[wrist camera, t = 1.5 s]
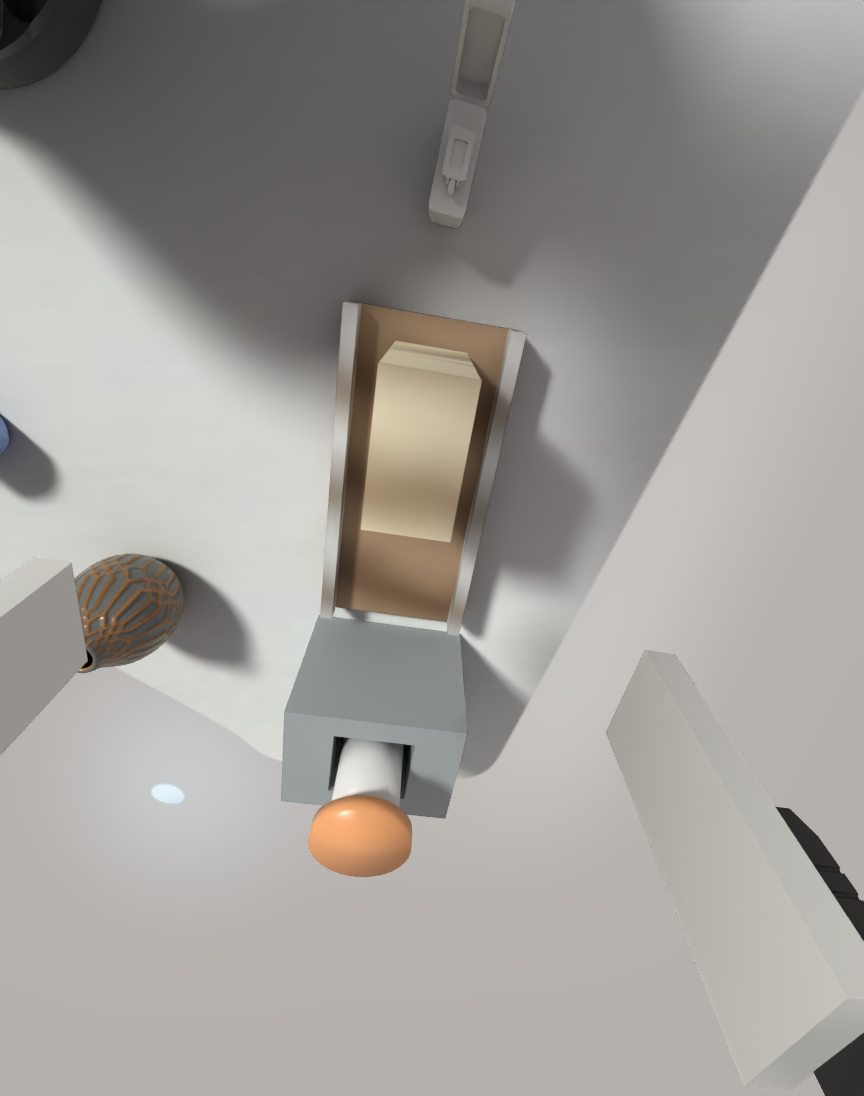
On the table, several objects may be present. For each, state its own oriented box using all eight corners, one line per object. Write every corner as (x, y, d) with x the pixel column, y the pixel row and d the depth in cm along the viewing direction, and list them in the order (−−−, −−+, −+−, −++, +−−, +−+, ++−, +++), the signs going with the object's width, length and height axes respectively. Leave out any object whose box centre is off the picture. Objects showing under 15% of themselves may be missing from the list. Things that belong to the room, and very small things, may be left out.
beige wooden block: (395, 340, 28) (378, 363, 19) (466, 352, 28) (481, 381, 19) (381, 461, 31) (360, 529, 22) (445, 471, 31) (450, 542, 23)
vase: (210, 566, 37) (150, 640, 29) (181, 633, 40) (119, 717, 32) (115, 523, 35) (24, 589, 28) (92, 595, 38) (3, 674, 30)
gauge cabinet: (318, 615, 39) (284, 711, 30) (467, 634, 40) (477, 734, 31) (313, 693, 42) (281, 801, 33) (449, 710, 43) (453, 819, 34)
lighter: (459, 229, 27) (468, 207, 20) (428, 220, 27) (426, 195, 20) (497, 60, 24) (524, -37, 17) (462, 49, 24) (475, -54, 17)
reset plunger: (337, 696, 33) (310, 807, 26) (421, 706, 34) (418, 818, 26) (331, 755, 36) (305, 871, 29) (410, 764, 36) (404, 881, 29)
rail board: (349, 300, 29) (340, 301, 26) (519, 330, 30) (528, 334, 27) (326, 594, 38) (318, 617, 35) (458, 611, 39) (460, 635, 36)
